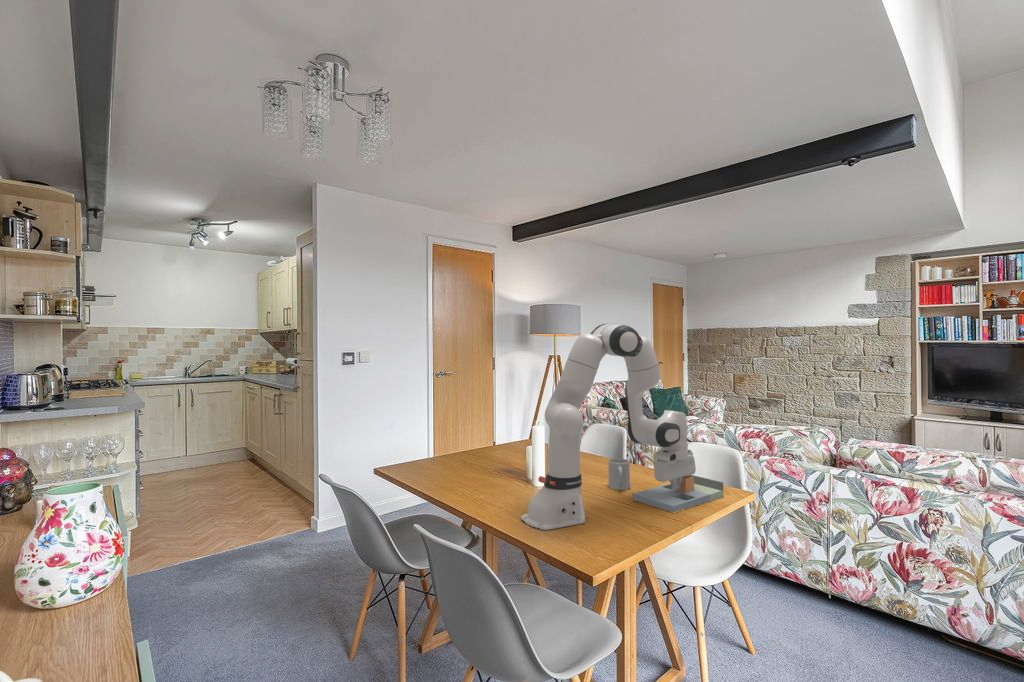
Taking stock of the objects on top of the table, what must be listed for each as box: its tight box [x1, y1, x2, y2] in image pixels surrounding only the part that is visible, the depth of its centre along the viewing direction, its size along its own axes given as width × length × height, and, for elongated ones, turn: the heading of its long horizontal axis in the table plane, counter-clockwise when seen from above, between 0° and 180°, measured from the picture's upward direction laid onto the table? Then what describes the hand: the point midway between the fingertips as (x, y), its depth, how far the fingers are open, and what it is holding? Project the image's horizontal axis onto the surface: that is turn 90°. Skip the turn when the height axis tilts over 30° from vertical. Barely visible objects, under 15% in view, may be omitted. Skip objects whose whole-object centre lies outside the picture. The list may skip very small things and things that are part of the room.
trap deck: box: [632, 474, 724, 513], centre depth 180 cm, size 30×18×6 cm, turn 125°
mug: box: [607, 457, 631, 491], centre depth 194 cm, size 12×8×11 cm
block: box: [675, 476, 694, 493], centre depth 182 cm, size 5×5×5 cm
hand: (676, 489), depth 179 cm, fingers closed
